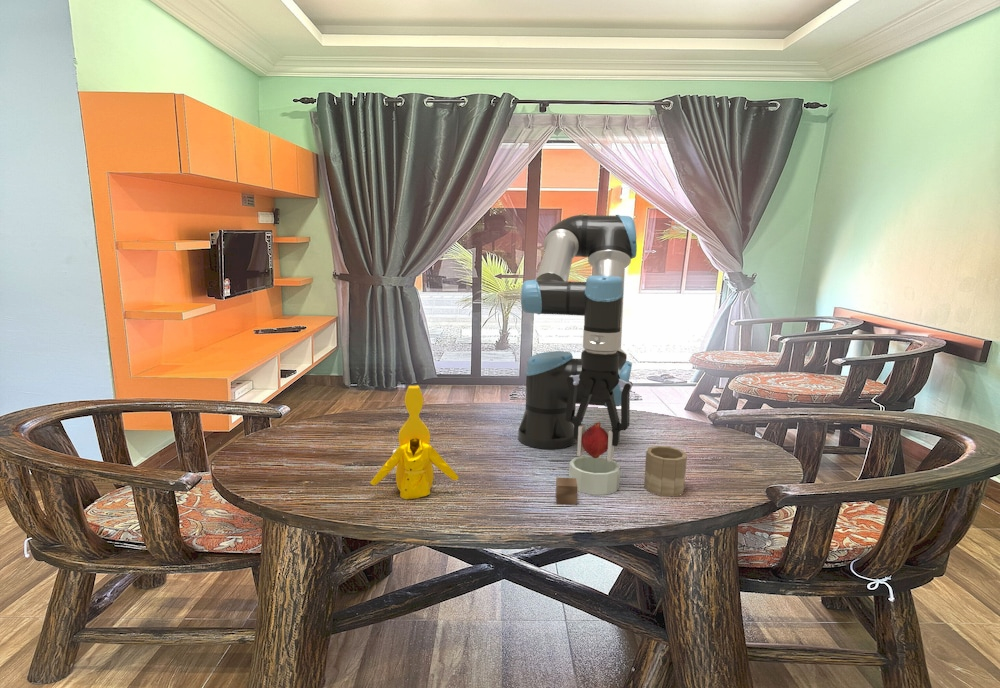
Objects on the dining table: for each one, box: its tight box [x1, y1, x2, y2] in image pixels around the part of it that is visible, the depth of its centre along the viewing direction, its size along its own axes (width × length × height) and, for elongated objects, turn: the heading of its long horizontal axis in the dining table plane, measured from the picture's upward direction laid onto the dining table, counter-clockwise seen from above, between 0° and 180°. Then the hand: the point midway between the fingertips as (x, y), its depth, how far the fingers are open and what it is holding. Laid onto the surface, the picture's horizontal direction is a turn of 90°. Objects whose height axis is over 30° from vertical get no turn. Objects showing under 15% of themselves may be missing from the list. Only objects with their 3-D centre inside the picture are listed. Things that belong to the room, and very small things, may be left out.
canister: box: [643, 445, 688, 497], centre depth 118 cm, size 8×8×8 cm
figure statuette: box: [369, 384, 460, 500], centre depth 113 cm, size 18×8×22 cm, turn 100°
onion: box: [582, 421, 609, 458], centre depth 118 cm, size 6×6×8 cm
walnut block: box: [555, 476, 578, 506], centre depth 112 cm, size 4×4×4 cm
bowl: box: [568, 455, 621, 496], centre depth 120 cm, size 10×10×4 cm
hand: (595, 456), depth 119 cm, fingers closed on onion, 6 cm apart
